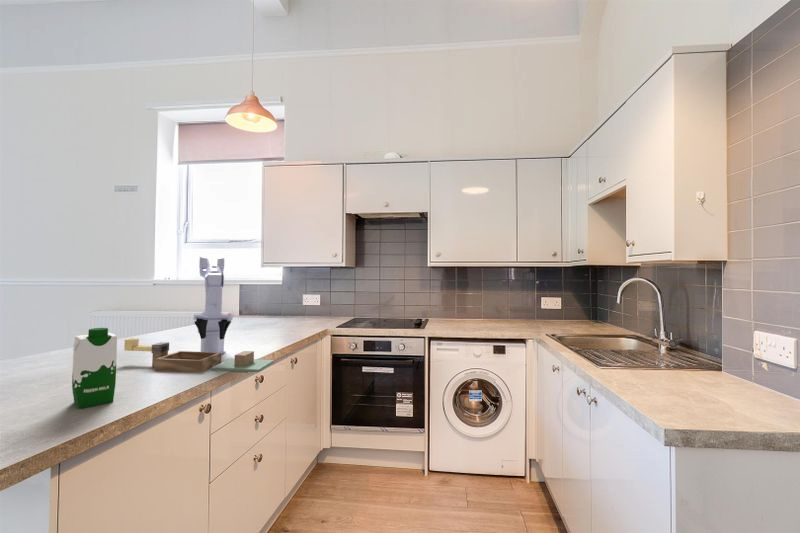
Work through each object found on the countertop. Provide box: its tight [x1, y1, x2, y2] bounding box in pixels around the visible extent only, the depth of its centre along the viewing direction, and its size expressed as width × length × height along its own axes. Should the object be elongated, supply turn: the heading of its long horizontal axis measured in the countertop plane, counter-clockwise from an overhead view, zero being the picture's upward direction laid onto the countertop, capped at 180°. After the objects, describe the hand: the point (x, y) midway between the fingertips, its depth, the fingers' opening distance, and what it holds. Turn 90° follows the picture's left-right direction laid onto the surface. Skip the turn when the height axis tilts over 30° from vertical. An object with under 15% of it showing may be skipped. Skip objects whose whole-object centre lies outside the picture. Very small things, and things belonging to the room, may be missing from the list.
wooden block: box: [123, 338, 163, 352], centre depth 134 cm, size 3×13×4 cm, turn 87°
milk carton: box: [71, 327, 118, 410], centre depth 97 cm, size 9×9×20 cm
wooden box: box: [151, 341, 222, 373], centre depth 133 cm, size 13×22×8 cm, turn 87°
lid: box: [210, 350, 275, 373], centre depth 135 cm, size 14×18×5 cm
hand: (212, 338), depth 139 cm, fingers open, 7 cm apart
